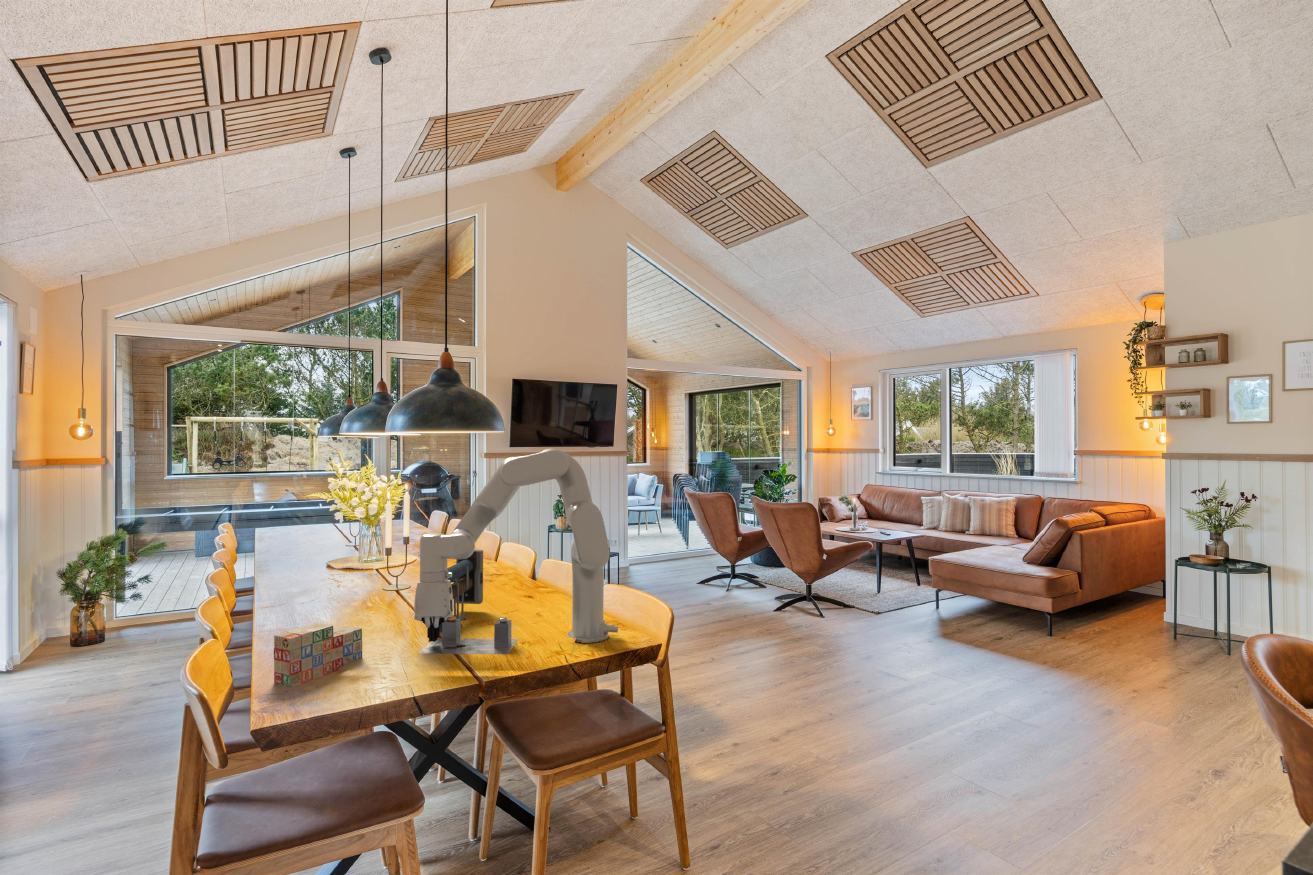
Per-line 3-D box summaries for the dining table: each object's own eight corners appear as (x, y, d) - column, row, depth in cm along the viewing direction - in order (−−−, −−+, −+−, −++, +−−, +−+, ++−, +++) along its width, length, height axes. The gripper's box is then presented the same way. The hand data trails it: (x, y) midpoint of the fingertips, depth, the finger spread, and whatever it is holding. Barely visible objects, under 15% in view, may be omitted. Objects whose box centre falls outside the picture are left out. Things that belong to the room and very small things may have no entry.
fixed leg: (511, 644, 198) (511, 616, 198) (508, 648, 194) (508, 620, 194) (497, 643, 198) (497, 616, 198) (494, 648, 194) (494, 620, 194)
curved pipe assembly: (444, 639, 206) (444, 569, 206) (416, 639, 207) (416, 568, 207) (482, 610, 241) (483, 550, 241) (458, 609, 242) (458, 549, 242)
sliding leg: (460, 642, 198) (460, 615, 198) (456, 646, 194) (456, 618, 194) (446, 642, 198) (446, 615, 198) (442, 646, 194) (442, 618, 194)
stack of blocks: (346, 658, 189) (347, 614, 189) (362, 662, 186) (362, 617, 186) (273, 683, 170) (273, 634, 170) (289, 687, 167) (289, 637, 167)
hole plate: (518, 642, 203) (518, 638, 203) (507, 658, 189) (507, 653, 189) (434, 642, 203) (434, 638, 203) (417, 657, 189) (417, 653, 189)
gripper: (463, 574, 200) (463, 636, 200) (412, 573, 200) (412, 636, 200) (455, 579, 192) (455, 644, 192) (402, 579, 193) (402, 644, 193)
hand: (433, 640), depth 196 cm, fingers closed
